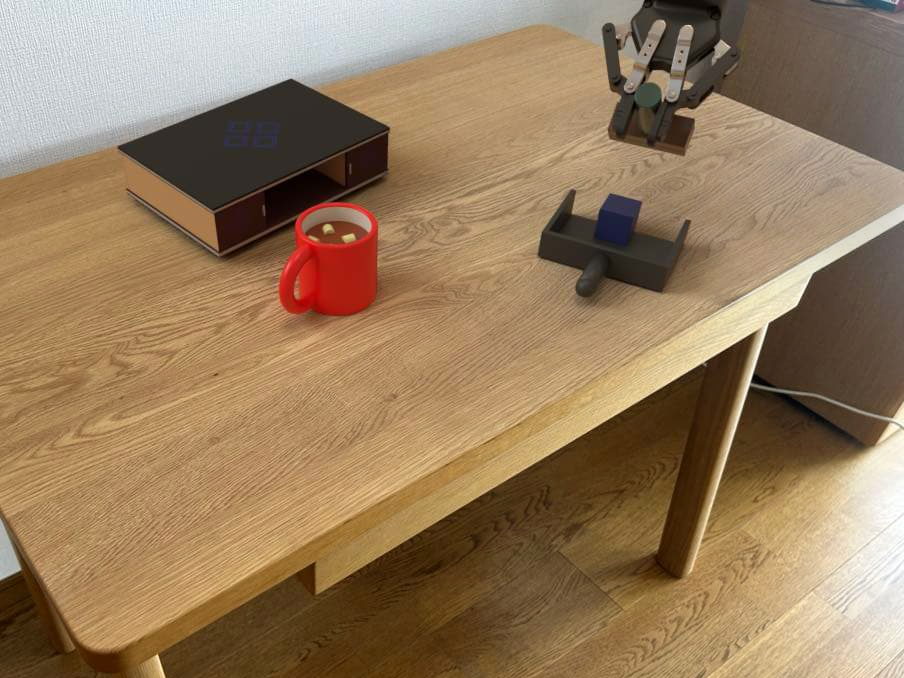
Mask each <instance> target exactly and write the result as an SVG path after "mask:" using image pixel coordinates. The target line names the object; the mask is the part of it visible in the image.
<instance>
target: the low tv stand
mask: <svg viewBox="0 0 904 678" xmlns="http://www.w3.org/2000/svg"><path fill="white" fill-rule="evenodd" d="M390 133H391V126H389V125H387V124H384V123H383V122H381V121H378V120H376V119H374V118H372V117H370V116H368V115H366V114H364V113H362V112H360V111H359V110H356V109H354V108H352V107H350V106H348V105H346V104H344V103H342V102H340V101H338V100H336V99H334V98H332V97H329V96H327V95H326V94H324V93H322V92H320V91H318V90H315V89H314V88H311V87H310V86H307V85H305V84H304V83H301V82H299V81H297V80H296V79H293V78H289V79H286V80H283V81H281V82H278V83H275V84H273V85H271V86H268V87H265V88H263V89H260V90H258V91H255V92H252V93H249V94H248V95H245V96H242V97H240V98H237V99H235V100H232V101H230V102H227V103H224V104H222V105H219V106H217V107H214V108H212V109H209V110H206V111H204V112H202V113H199V114H196V115H194V116H191V117H189V118H186V119H184V120H181V121H179V122H176V123H173V124H171V125H168V126H166V127H163V128H161V129H158V130H155V131H153V132H151V133H148V134H145V135H143V136H141V137H138V138H134V139H132V140H130V141H127V142H124V143H122V144H120V145H117V146H116V149H117V152H118V153H120V154H119V155H120V160H121V163H122V169H123V173H124V178H125V182H126V188H125V191H126V194H127V195H128V196H130V197H131V198H132V199H134V200H135V201H137V202H138V203H140V204H141V205H142V206H144V207H146V208H147V209H148V210H150V211H152V213H154V214H155V215H157V216H158V217H160V218H161V219H163V220H164V221H166V222H167V223H168V224H170V225H171V226H173V227H174V228H176V229H177V230H179V231H180V232H181V233H183V234H184V235H186V236H187V237H188V238H190V239H191V240H193V241H195V242H196V243H197V244H199V245H200V246H201V247H203V248H204V249H206V250H208V252H210V253H212V254H213V255H215V256H216V257H217V258H219V259H220V258H222V257H224V256H227V255H228V254H230V253H232V252H234V251H236V250H238V249H240V248H242V247H244V246H246V245H249V244H250V243H252V242H254V241H256V240H258V239H261V238H262V237H265V236H266V235H268V234H270V233H272V232H274V231H276V230H279V229H280V228H283V227H284V226H287V225H288V224H290V223H293V222H294V221H297V219H298V217H299V216H300V215H301V214H302V213H303V212H304V211H306V210H308V209H309V208H311V207H314V206H316V205H320V204H324V203H333V202H335V201H336V200H338V199H341V198H342V197H345V196H346V195H349V194H351V193H352V192H354V191H357V190H358V189H361V188H362V187H364V186H367V185H369V184H370V183H372V182H374V181H377V180H378V179H381V178H383V177H385V176H386V175H388V174H390V168H388V166H389V165H388V163H389V135H390Z"/></svg>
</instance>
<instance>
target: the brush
mask: <svg viewBox="0 0 904 678" xmlns="http://www.w3.org/2000/svg"><path fill="white" fill-rule="evenodd" d="M662 95H663V93H662V89H661V86H659V85H658V84H657V83H655V82H651V81H647V82H646V83H644V84H642V85H640V86H639V87H638V88H637V90H636V92H635V105H636V109H635V112H634V115H633V117H632V120H631V123H630V126H629V128H628V131H627V134H626V136H625V139H624V140H620V139H616V132H614V131H613V118H614V115H615V113H616V110H617V107H618V104H619V102H620V101H617V102H616V104H615V107H614V109H613V112H612V115H611V118H610V121H609V124H608V126H607V134H608V140H611V141H615V142H620V143H624V144H628V145H632V146H637V147H641V148H646V149H650V150H654V151H658V152H663V153H666V154H667V153H668V154H672V155H676V156H680V157H685V156H686V153H687V151H688V149H689V146H690V143H691V140H692V137H693V134H694V132H695V128H696V118H694V117H690V116H684V115H680V114H676V113H675V114H674V116H673V119H672V122H671V125H670V127H669V130H668V133H667V135H666V138H665V139H664V140H663V142H662V143H661V142H657V143H656V145H655V147H650V146H647V137H648V134H649V131H650V129H651V126H652V123H653V121H654V118H655V115H656V112H657V110H658V107H659V104H660V102H661V101H662V102H663V96H662Z"/></svg>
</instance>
